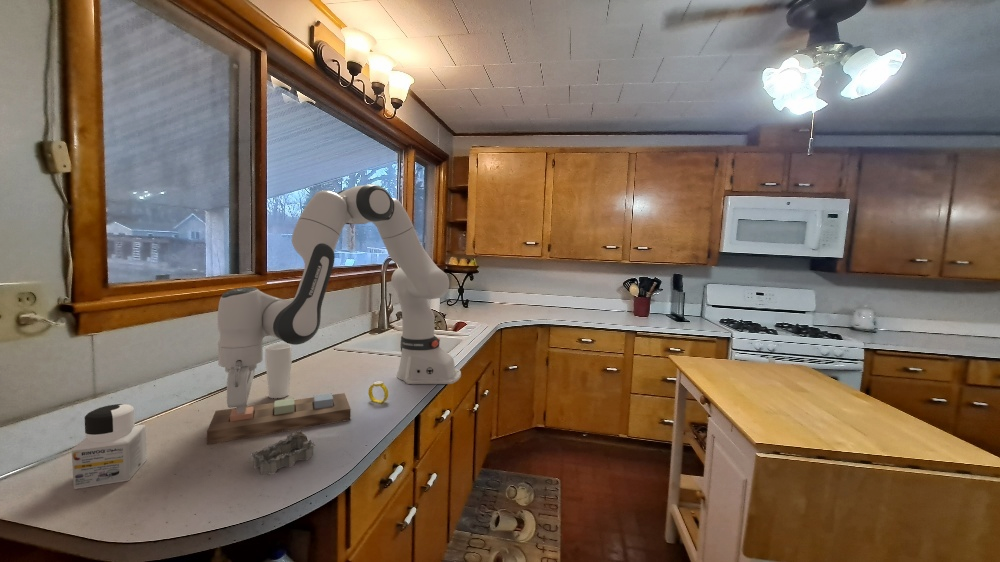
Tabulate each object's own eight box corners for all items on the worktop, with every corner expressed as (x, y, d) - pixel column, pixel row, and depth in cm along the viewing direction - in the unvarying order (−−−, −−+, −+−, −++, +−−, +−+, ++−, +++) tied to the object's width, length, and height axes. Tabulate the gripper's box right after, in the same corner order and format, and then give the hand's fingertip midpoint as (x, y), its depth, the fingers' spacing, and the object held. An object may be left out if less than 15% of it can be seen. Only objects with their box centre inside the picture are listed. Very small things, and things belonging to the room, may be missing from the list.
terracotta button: (253, 418, 96) (253, 406, 96) (252, 425, 92) (252, 413, 92) (232, 421, 94) (232, 409, 94) (230, 428, 90) (229, 416, 90)
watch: (367, 403, 112) (366, 383, 111) (373, 399, 114) (372, 380, 114) (384, 405, 110) (383, 384, 109) (390, 401, 112) (389, 381, 112)
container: (72, 490, 68) (68, 419, 67) (97, 467, 75) (94, 403, 74) (129, 481, 71) (126, 413, 70) (147, 460, 78) (145, 398, 77)
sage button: (294, 409, 100) (294, 398, 100) (294, 415, 97) (294, 404, 96) (274, 412, 98) (274, 400, 98) (274, 418, 94) (274, 407, 94)
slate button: (331, 403, 105) (331, 393, 105) (333, 409, 101) (333, 398, 101) (313, 406, 103) (313, 395, 102) (314, 412, 99) (314, 401, 99)
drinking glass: (297, 392, 117) (296, 344, 115) (282, 401, 110) (281, 349, 109) (276, 390, 117) (275, 342, 116) (260, 399, 111) (259, 348, 109)
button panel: (344, 403, 110) (344, 393, 110) (350, 420, 100) (350, 408, 99) (215, 422, 96) (215, 410, 95) (207, 444, 85) (206, 431, 85)
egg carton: (303, 445, 87) (303, 428, 86) (318, 458, 82) (318, 439, 82) (249, 464, 79) (249, 445, 78) (262, 479, 74) (261, 459, 73)
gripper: (253, 366, 84) (253, 426, 85) (259, 344, 102) (259, 395, 103) (217, 369, 81) (219, 432, 82) (230, 346, 99) (231, 398, 100)
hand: (241, 411), depth 93 cm, fingers closed, pressing on terracotta button
